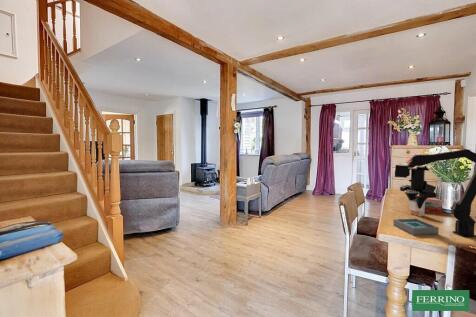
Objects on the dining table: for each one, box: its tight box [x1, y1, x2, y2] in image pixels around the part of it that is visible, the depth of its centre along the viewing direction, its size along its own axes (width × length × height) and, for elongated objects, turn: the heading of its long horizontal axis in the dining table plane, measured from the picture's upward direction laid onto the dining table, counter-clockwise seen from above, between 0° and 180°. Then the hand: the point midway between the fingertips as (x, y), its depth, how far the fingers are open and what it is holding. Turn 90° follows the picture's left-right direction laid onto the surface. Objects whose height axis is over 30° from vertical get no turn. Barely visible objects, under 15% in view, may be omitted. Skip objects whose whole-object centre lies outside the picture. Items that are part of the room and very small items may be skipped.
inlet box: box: [393, 218, 439, 236], centre depth 125 cm, size 14×13×4 cm
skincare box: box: [409, 194, 425, 217], centre depth 149 cm, size 6×4×12 cm
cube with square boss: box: [409, 199, 423, 211], centre depth 128 cm, size 4×4×6 cm
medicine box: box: [424, 198, 443, 215], centre depth 158 cm, size 15×8×8 cm, turn 60°
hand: (416, 207), depth 128 cm, fingers closed on cube with square boss, 4 cm apart
